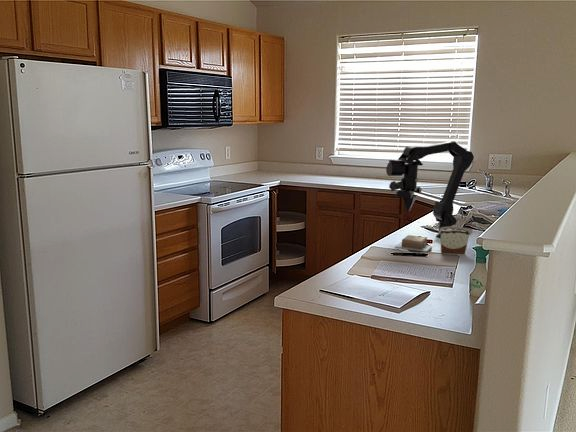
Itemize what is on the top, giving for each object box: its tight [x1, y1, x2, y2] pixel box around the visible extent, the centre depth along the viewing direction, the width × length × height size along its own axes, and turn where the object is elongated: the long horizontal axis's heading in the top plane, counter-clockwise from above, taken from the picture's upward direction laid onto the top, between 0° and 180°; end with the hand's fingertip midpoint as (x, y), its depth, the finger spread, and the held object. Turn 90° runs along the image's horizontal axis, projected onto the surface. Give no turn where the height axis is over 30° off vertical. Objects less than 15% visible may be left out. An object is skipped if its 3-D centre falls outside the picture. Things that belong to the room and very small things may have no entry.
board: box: [394, 241, 433, 253], centre depth 221 cm, size 9×13×1 cm
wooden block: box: [401, 234, 428, 250], centre depth 221 cm, size 3×8×9 cm
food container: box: [439, 226, 471, 256], centre depth 213 cm, size 12×6×10 cm, turn 89°
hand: (407, 211), depth 233 cm, fingers closed
